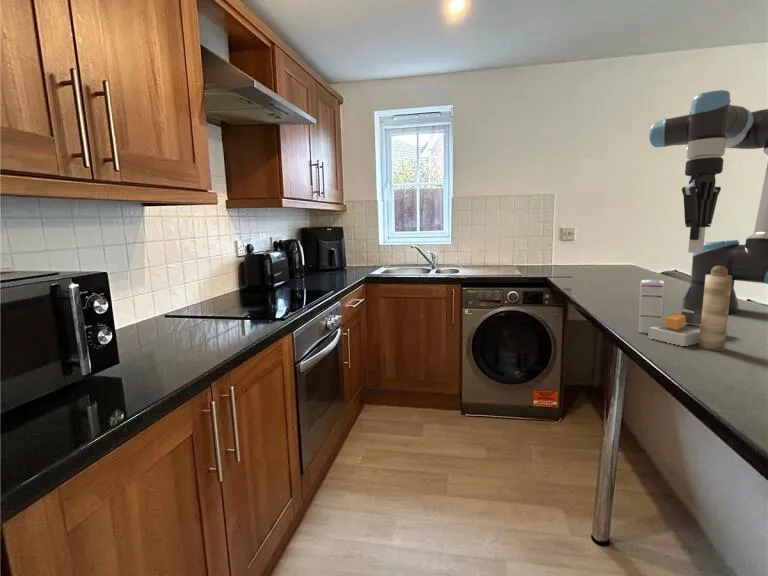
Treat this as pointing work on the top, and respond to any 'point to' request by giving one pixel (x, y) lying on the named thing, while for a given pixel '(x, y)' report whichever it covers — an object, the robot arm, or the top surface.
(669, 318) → the paddle
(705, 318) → the pepper mill
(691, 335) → the breaker strip
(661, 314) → the syrup box
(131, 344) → the top surface
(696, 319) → the paddle middle
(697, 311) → the paddle
